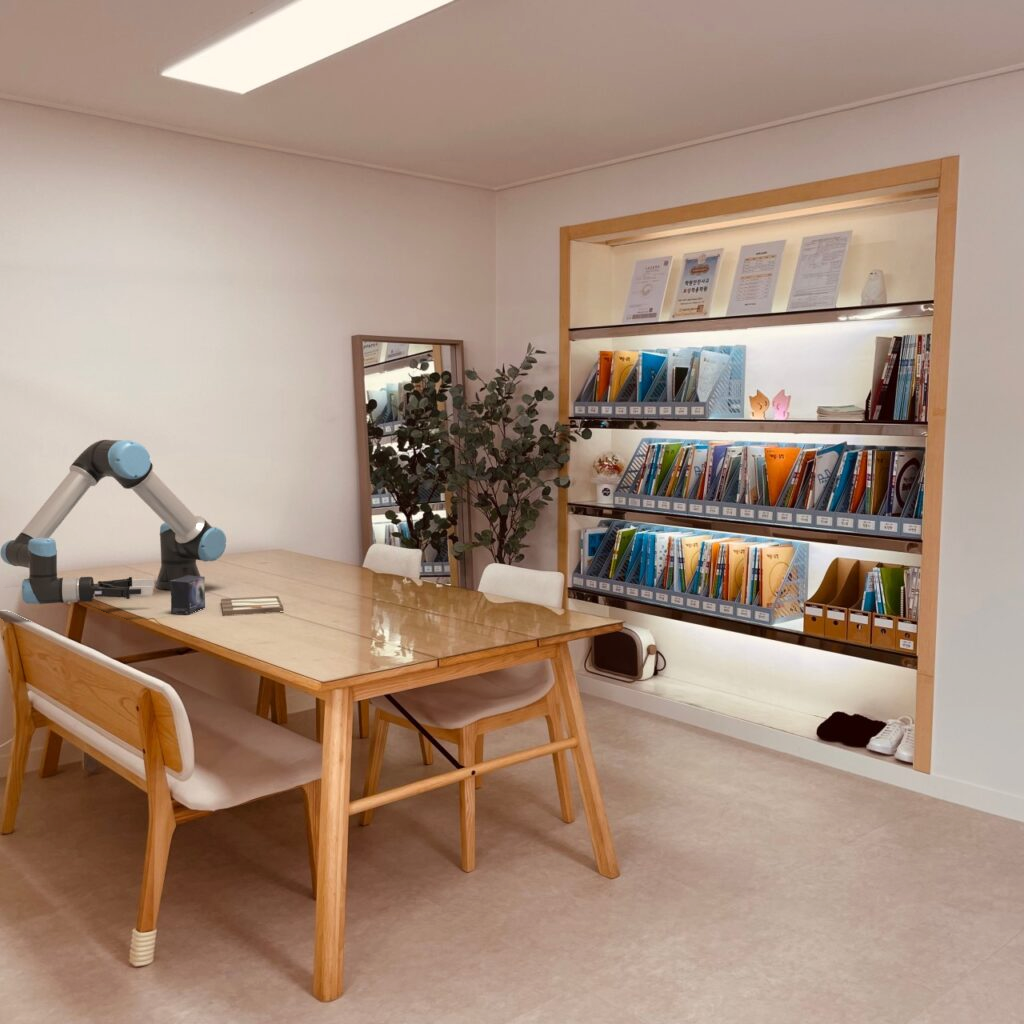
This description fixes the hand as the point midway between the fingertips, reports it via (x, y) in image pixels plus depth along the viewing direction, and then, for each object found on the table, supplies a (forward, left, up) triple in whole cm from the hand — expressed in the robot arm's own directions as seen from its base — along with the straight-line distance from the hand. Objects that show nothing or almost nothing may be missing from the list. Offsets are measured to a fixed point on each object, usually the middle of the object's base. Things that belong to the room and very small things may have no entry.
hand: (153, 586), depth 321 cm
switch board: (0, +29, -8) cm, 30 cm away
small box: (0, +10, -9) cm, 13 cm away
